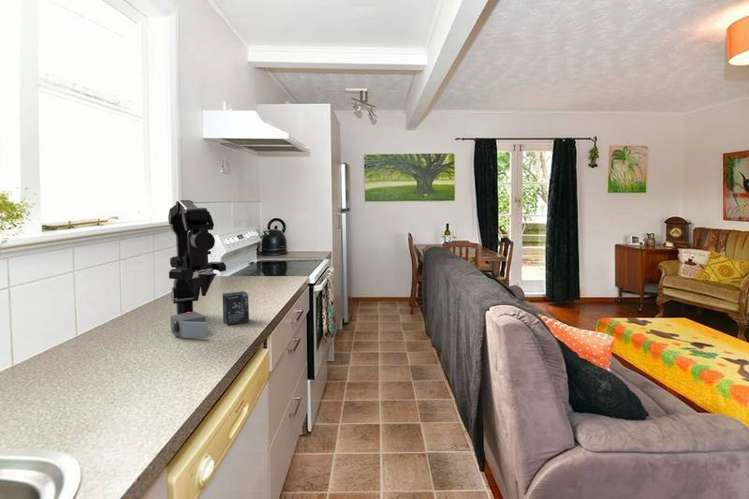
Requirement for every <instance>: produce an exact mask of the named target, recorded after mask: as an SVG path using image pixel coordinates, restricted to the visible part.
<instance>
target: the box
mask: <svg viewBox="0 0 749 499" xmlns="http://www.w3.org/2000/svg"><path fill="white" fill-rule="evenodd" d="M249 303H250V302H249V293H248V292H246V291H244V290H243V291H234V292H233V291H232V292H225V293H224V292H222V321H223V323H224V324H225V325H226V326H231V325H236V324H241V323H242V324H244V323H249V322H250V313H249V312H250V311H249V310H250V306H249Z"/></svg>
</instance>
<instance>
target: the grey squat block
mask: <svg viewBox="0 0 749 499" xmlns="http://www.w3.org/2000/svg"><path fill="white" fill-rule="evenodd" d="M169 317H170V329H171V330H170V331H171V333H172V332H173V333H172V334H174V335H175V336H178V337H179V338H180V321H183V322H207V321H206V316H205V315H203V314H201V313H199V312H197V311H194V310H193V312H187V313H183V314H177V313H176V314H172V315H170V316H169Z"/></svg>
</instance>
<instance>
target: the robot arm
mask: <svg viewBox="0 0 749 499" xmlns="http://www.w3.org/2000/svg"><path fill="white" fill-rule="evenodd" d="M193 201H194V200H190V199H178V200H176V203H175V205H173V206H172V207H170V208H169V210H168V216H167V220H168V224H169V225H170V229H171V231H172V232H173V234H174V235H175V240H176V241H175V244H176V245H175V246H176V255H175V256H172V257H170V258H169V265H170V267H171V269H170V271H169V272H168V278H169V280H173V286H172V287H171V293H170V294H171V295H170V299H171V300H170V301H171V303H172V304H173V305H174V304H176V315H177V314H183V313H187V312H194V302H198V301H199V296H200V293H201V296H202V297H205V296H206V295H207V293H208V291H209V288H210V287H211V284H212V282H213V281H214V279H215V277H216V276H217V275H218V274H217V273H214V271H218V272H219V273H222V272H225V271H227V265H226V263H225V262H223V261H210V262H209V255H212V252H211V251H212V250H211V249H213V248H214V246H215V244H216V239H215V237H214V235H213V234H212V232H211V233H210V232H209V231H213V230H214V226H215V223H214V220H213V217H212V215H211V213H210V211H209V210H208V209H207V207H198V206H196V205H195V204H194V202H193Z"/></svg>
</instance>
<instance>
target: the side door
mask: <svg viewBox="0 0 749 499" xmlns="http://www.w3.org/2000/svg"><path fill="white" fill-rule="evenodd" d="M179 338H180V339H208V322H207V321H206V322H183V321H180V337H179Z"/></svg>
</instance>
